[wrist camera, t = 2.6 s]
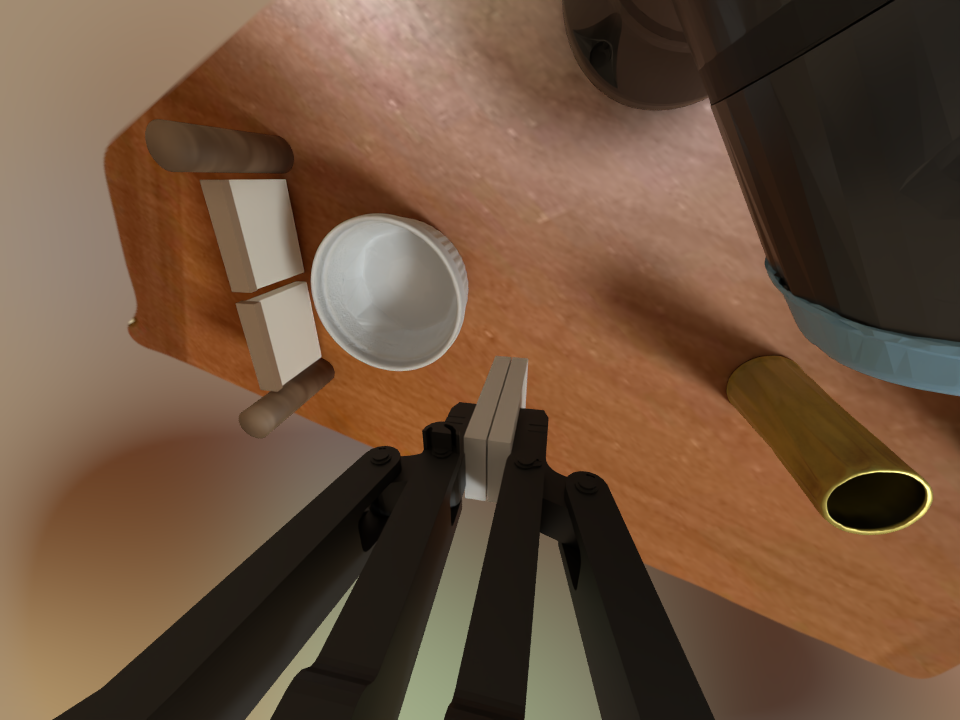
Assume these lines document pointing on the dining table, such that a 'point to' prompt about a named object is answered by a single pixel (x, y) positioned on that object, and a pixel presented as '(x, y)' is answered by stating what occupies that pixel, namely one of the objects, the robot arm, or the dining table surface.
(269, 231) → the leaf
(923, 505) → the vase
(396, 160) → the dining table surface
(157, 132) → the gate posts
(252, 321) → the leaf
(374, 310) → the ramekin
